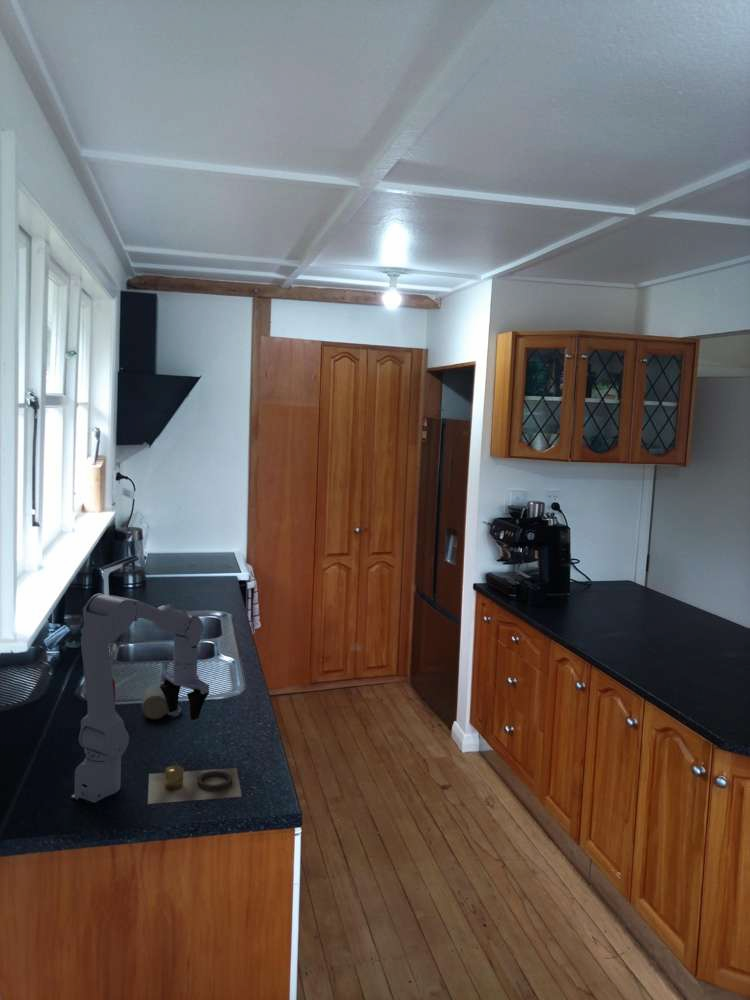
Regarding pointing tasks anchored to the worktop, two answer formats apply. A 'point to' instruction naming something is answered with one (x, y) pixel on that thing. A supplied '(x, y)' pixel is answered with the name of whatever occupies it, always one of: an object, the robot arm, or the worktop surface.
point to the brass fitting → (174, 778)
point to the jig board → (196, 786)
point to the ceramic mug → (156, 703)
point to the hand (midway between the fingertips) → (183, 714)
